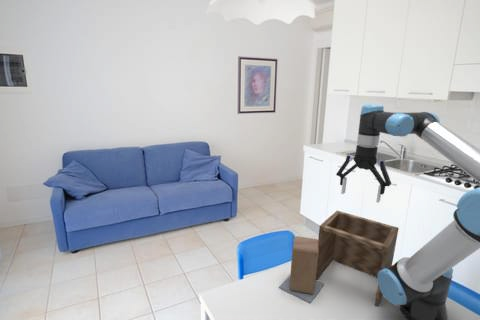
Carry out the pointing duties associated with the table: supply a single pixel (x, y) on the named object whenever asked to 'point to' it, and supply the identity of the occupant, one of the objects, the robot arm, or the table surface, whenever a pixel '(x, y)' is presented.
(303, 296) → the mat
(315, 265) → the wooden block
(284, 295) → the table surface
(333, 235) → the cubby
